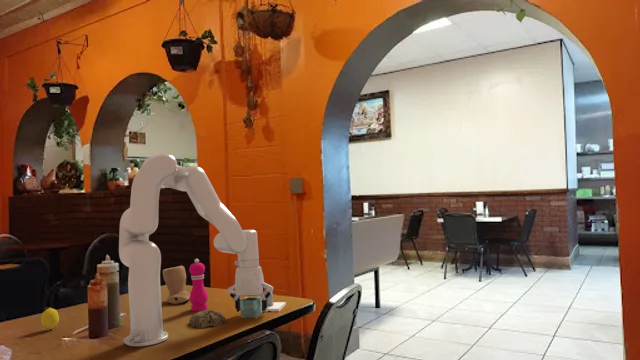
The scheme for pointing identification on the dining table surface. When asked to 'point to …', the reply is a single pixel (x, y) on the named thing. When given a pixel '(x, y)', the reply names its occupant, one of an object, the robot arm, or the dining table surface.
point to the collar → (251, 307)
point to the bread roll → (207, 319)
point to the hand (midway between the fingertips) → (251, 310)
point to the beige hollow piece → (176, 284)
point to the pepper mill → (198, 287)
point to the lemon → (49, 318)
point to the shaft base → (273, 304)
